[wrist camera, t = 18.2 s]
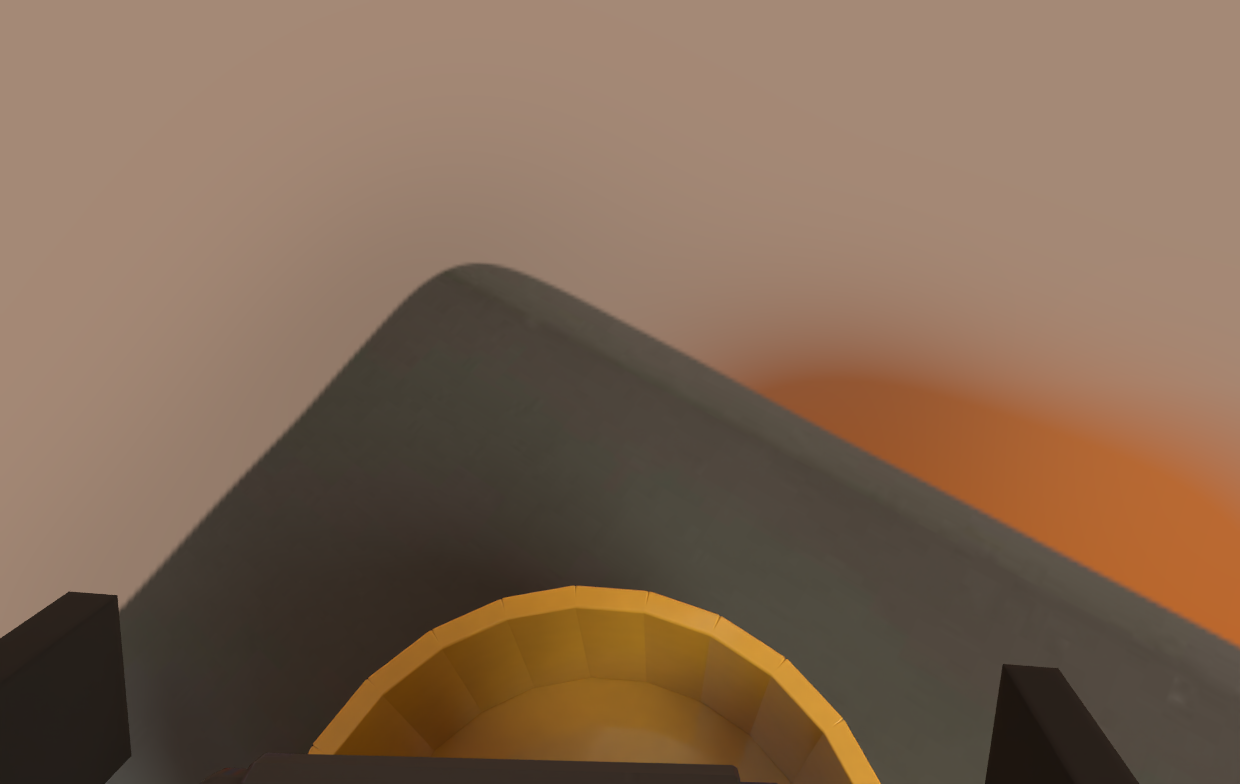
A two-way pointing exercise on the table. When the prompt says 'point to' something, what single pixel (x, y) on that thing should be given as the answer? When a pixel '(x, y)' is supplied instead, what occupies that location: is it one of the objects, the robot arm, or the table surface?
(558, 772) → the card reader
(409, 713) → the mug
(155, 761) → the table surface
